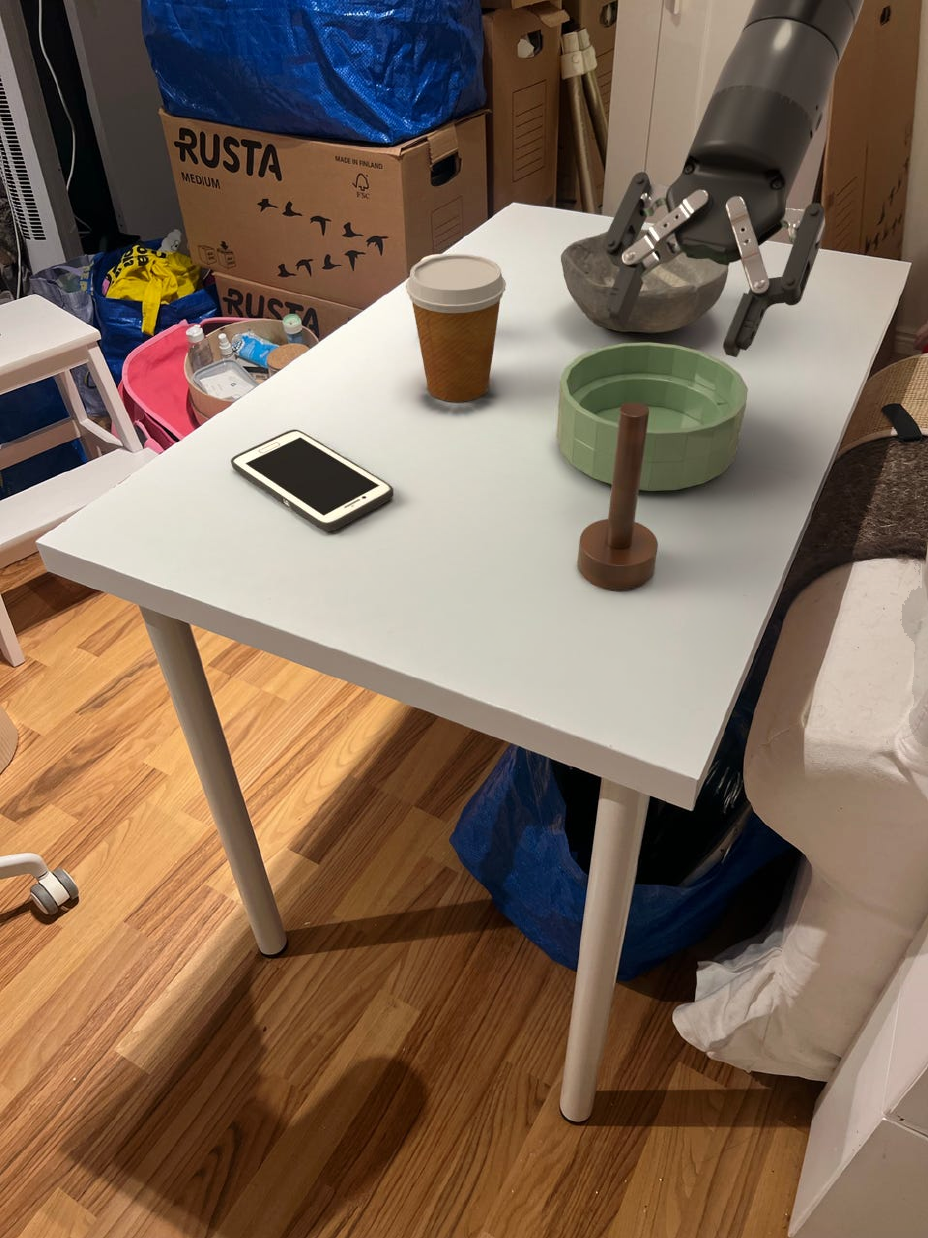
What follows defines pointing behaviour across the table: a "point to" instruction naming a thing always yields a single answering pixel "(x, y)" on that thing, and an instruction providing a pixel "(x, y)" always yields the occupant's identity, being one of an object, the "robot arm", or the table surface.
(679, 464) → the mixing bowl
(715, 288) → the bowl
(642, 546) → the wooden rod on disc
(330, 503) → the cell phone
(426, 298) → the disposable coffee cup
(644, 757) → the table surface
